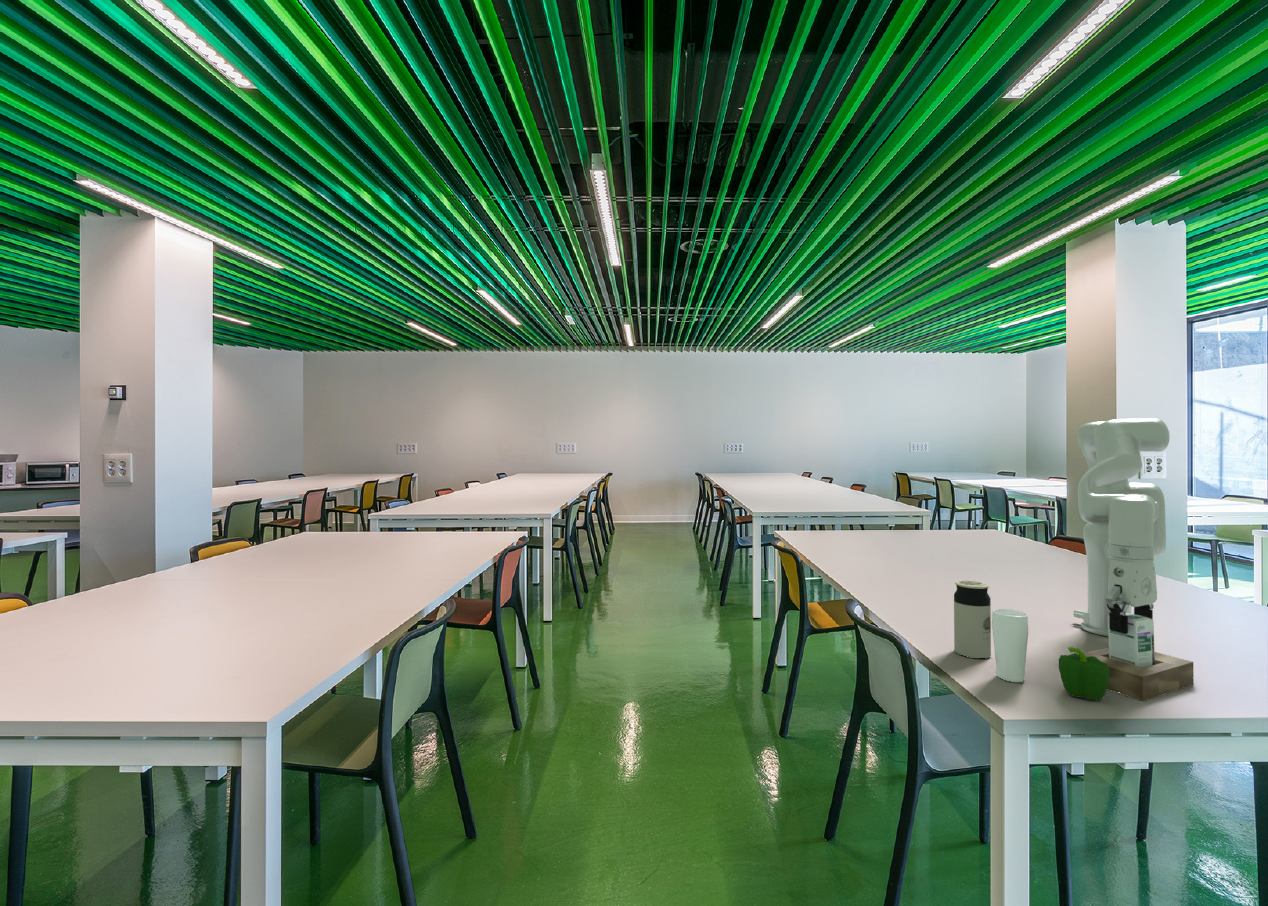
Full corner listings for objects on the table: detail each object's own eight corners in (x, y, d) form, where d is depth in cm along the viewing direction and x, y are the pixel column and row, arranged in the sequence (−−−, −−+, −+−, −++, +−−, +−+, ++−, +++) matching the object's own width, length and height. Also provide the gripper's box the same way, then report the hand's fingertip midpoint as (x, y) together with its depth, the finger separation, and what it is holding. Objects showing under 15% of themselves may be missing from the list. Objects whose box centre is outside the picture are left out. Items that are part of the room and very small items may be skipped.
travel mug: (947, 651, 145) (946, 581, 145) (969, 647, 147) (968, 578, 147) (975, 661, 137) (975, 588, 137) (998, 657, 140) (997, 585, 140)
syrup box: (1138, 688, 121) (1137, 621, 121) (1107, 677, 127) (1107, 613, 127) (1155, 684, 123) (1155, 618, 123) (1125, 674, 129) (1124, 611, 129)
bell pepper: (1110, 695, 118) (1110, 647, 118) (1109, 708, 112) (1108, 658, 112) (1060, 684, 123) (1060, 639, 124) (1056, 696, 117) (1056, 648, 117)
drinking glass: (994, 670, 131) (994, 606, 131) (1029, 677, 127) (1029, 611, 127) (990, 679, 126) (990, 613, 126) (1027, 687, 122) (1026, 618, 122)
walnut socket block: (1072, 678, 127) (1072, 656, 127) (1122, 664, 135) (1122, 643, 135) (1143, 701, 115) (1142, 676, 115) (1193, 684, 123) (1193, 661, 123)
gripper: (1129, 559, 118) (1129, 640, 118) (1172, 551, 125) (1173, 628, 125) (1088, 553, 125) (1089, 629, 125) (1132, 546, 132) (1132, 618, 132)
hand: (1131, 628), depth 125 cm, fingers open, 9 cm apart
